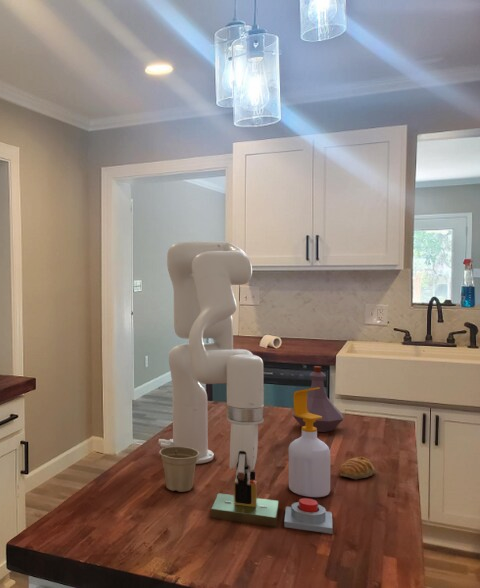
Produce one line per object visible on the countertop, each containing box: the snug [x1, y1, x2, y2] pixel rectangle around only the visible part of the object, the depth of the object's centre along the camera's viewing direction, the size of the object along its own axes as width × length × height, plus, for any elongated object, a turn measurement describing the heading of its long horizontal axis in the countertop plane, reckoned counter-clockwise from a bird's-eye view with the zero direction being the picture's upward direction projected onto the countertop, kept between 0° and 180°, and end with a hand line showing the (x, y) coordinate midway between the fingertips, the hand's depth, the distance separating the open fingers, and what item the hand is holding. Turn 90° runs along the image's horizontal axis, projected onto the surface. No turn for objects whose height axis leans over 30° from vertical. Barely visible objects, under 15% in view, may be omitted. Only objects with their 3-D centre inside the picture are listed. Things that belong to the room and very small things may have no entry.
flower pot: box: [159, 446, 199, 493], centre depth 138 cm, size 9×9×9 cm
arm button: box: [298, 497, 319, 512], centre depth 118 cm, size 4×4×2 cm
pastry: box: [338, 456, 376, 480], centre depth 145 cm, size 9×7×4 cm
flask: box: [292, 365, 344, 433], centre depth 187 cm, size 16×16×20 cm
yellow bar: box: [233, 478, 258, 507], centre depth 123 cm, size 4×2×5 cm, turn 68°
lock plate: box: [210, 492, 280, 528], centre depth 123 cm, size 13×9×2 cm
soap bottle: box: [288, 387, 331, 498], centre depth 135 cm, size 9×9×25 cm
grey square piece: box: [283, 501, 334, 535], centre depth 118 cm, size 9×8×3 cm
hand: (245, 495), depth 123 cm, fingers open, 7 cm apart
